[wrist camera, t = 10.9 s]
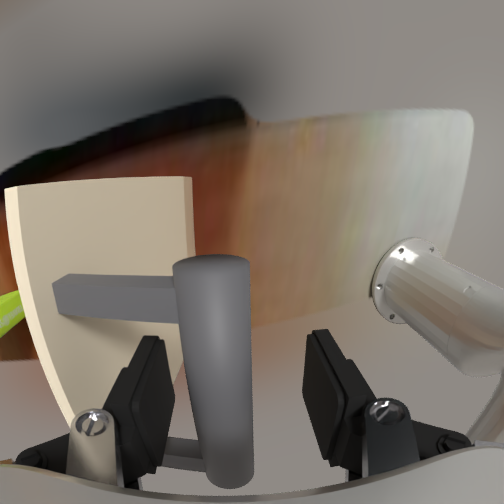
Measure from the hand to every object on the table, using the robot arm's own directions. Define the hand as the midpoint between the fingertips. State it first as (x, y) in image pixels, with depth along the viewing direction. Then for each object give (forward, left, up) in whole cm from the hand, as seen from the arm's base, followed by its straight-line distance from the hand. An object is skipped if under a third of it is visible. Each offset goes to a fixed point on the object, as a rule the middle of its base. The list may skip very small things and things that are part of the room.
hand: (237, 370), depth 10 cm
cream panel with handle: (+5, 0, -6) cm, 8 cm away
